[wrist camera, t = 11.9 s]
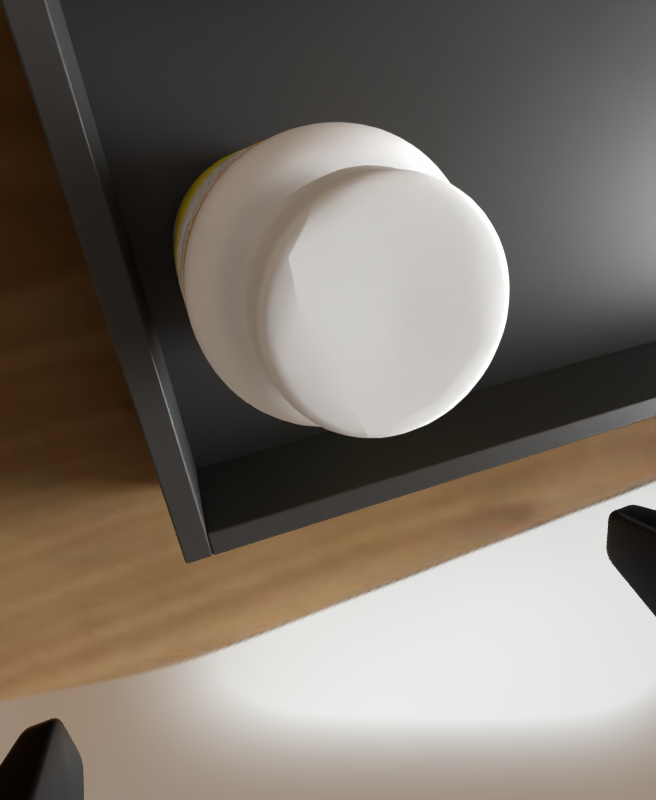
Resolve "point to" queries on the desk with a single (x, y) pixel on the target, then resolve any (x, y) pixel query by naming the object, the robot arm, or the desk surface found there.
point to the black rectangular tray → (421, 127)
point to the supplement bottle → (340, 280)
